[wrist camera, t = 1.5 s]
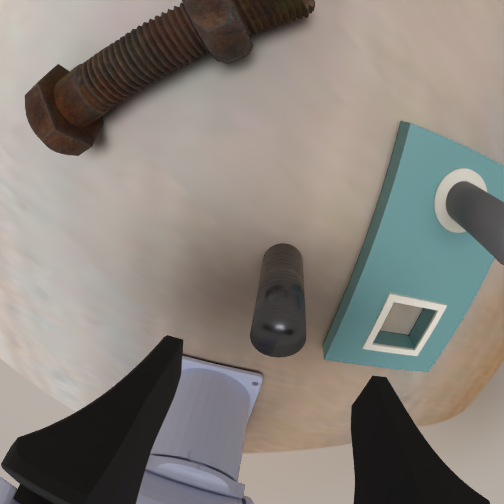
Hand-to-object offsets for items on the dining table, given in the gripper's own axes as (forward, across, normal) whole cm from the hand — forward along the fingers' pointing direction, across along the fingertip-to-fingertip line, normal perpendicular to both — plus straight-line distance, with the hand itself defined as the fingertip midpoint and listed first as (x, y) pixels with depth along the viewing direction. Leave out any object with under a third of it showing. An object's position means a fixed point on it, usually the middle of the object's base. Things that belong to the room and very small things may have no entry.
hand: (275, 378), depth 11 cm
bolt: (+10, +8, -11) cm, 17 cm away
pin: (+10, 0, 0) cm, 10 cm away
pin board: (+10, -9, -2) cm, 13 cm away
